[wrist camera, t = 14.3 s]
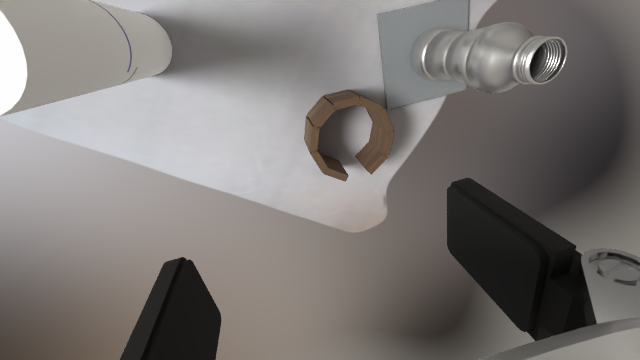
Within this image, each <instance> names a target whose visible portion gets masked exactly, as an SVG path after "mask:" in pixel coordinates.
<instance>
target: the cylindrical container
mask: <svg viewBox="0 0 640 360" xmlns="http://www.w3.org/2000/svg"><path fill="white" fill-rule="evenodd" d="M171 59H172V45H171V41H170V39H169V37H168V35H167V33H166V31H165V30H164V29H163V27H162V26H161V25H160V24H159V23H158V22H156V21H155V20H154V19H152V18H151V17H149V16H147V15H144V14H141V13H137V12H134V11H130V10H126V9H122V8H119V7H115V6H111V5H108V4H104V3H100V2H96V1H93V0H0V116H4V115H8V114H11V113H15V112H19V111H23V110H26V109H30V108H34V107H38V106H41V105H45V104H49V103H53V102H56V101H60V100H64V99H68V98H72V97H75V96H79V95H83V94H87V93H90V92H94V91H98V90H102V89H105V88H109V87H113V86H116V85H120V84H124V83H128V82H131V81H135V80H139V79H143V78H147V77H150V76H154V75H157V74H160V73H161V72H163V71H164V70H165V69H166V68H167V67H168V65H169V64H170V62H171Z"/></svg>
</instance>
